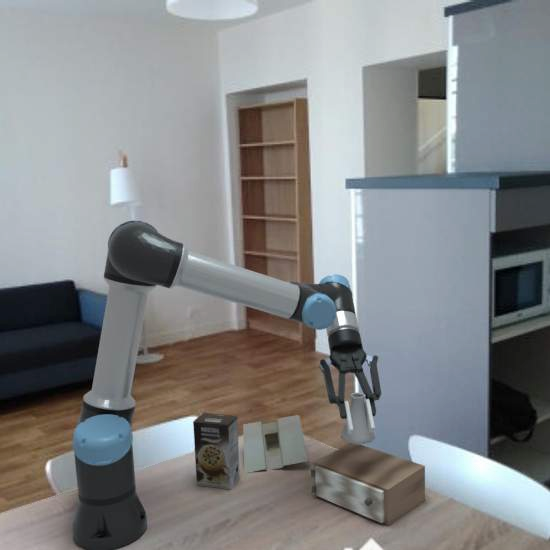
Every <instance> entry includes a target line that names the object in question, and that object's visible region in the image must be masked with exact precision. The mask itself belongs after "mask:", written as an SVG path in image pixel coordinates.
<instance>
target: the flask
mask: <svg viewBox="0 0 550 550" xmlns="http://www.w3.org/2000/svg"><path fill="white" fill-rule="evenodd" d="M349 397H350V398H351V399H350V400H351V403H350V407H349V408H350V414H351V419H352V425H353V432H352V434H351V435H348V430H347V425H346V423H344V424H345V425H344V426H343V429H342V432H341V434H340V439H341V440H343V441H344V442H346V443H348V444H350V443H352V444H357V445H366V444H370V443H372V442H373V441H374V440H375V439H376V436H375V433H374V432H375V431H373V433H369V427H368V422H367V415H366V410H365V405H364V403H365V400H366V398H365V397H366V395H365V394H363V392H358V391H357V392H352V393H351V394H350V395H349Z"/></svg>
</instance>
